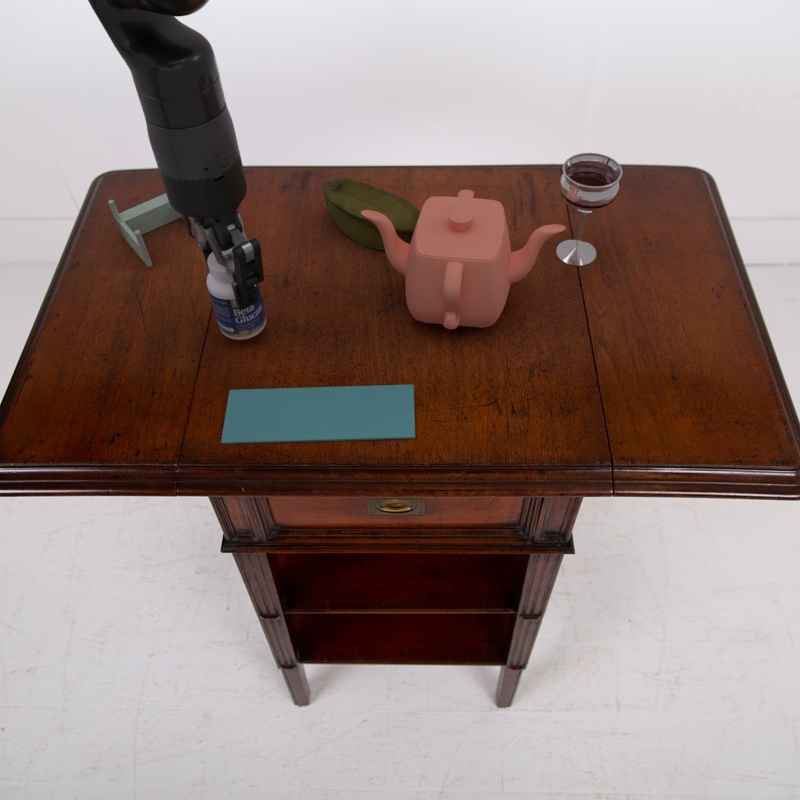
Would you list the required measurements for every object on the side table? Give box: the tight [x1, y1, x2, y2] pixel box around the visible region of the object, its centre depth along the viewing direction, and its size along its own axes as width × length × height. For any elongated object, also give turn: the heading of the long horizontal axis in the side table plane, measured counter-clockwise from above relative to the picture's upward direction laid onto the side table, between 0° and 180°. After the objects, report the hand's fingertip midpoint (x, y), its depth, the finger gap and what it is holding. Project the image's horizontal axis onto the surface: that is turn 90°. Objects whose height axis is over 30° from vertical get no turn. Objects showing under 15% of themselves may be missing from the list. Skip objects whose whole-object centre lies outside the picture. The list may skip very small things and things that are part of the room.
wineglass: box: [555, 152, 623, 266], centre depth 90 cm, size 7×7×12 cm
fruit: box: [322, 178, 421, 251], centre depth 96 cm, size 11×12×7 cm
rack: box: [107, 192, 184, 268], centre depth 97 cm, size 8×8×5 cm
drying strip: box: [220, 383, 416, 445], centre depth 80 cm, size 20×7×1 cm, turn 91°
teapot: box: [361, 189, 566, 330], centre depth 85 cm, size 15×17×13 cm
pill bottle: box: [206, 247, 267, 341], centre depth 83 cm, size 5×5×10 cm
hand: (234, 289), depth 82 cm, fingers closed on pill bottle, 5 cm apart
